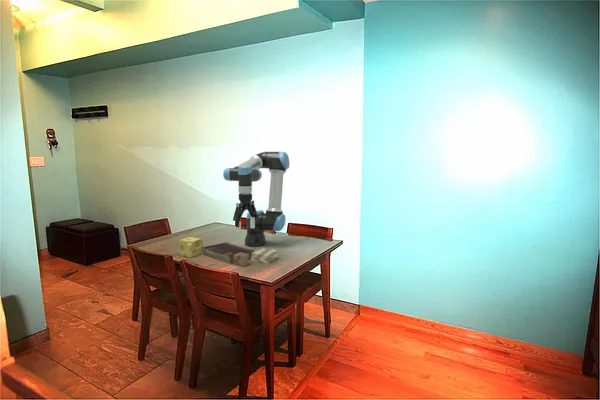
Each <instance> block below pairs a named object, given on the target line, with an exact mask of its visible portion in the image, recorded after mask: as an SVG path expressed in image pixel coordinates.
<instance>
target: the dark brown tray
mask: <svg viewBox="0 0 600 400" xmlns="http://www.w3.org/2000/svg"><path fill="white" fill-rule="evenodd" d="M254 251H255V250H253V249H250V248H247V247H243V246H241V245H237V244H234V243H230V242H222V243H216V244H212V245H208V246H203V247H202V255H204V256H206V257H209V258H212V259H215V260H218V261H221V262H224V263H226V264H229V265H234V255H235V254H238V253H241V252H242V253H247V254H249V260H251V253H252V252H254Z"/></svg>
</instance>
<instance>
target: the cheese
mask: <svg viewBox="0 0 600 400" xmlns="http://www.w3.org/2000/svg"><path fill="white" fill-rule="evenodd" d="M203 243H204V242H203V238H201V237H193V236H188V237H186V238H185V237H184V238H181V239H178V252H179V255H180V256H182V257H187V258H188V259H189V258H190V259H191V258H193V257H195V256H199V255H203V251H202V247H204V244H203Z"/></svg>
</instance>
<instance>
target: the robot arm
mask: <svg viewBox="0 0 600 400" xmlns="http://www.w3.org/2000/svg"><path fill="white" fill-rule="evenodd" d="M289 168H290V158H289V155H288V153H287V152H285V151H262V152H260V153H257V154H254V155H252V156H251V157H250V159H248V160H246V161H244V162H242V163H240V164H238V165H236V166H234V167H228V168H226V167H225V168H224V170H223V178H224V180H225V181H229V182H238V191H237V193H239V194H238V201H240V202H236V203H235V204H236V205H235V206H236V207H235V211H234V213H233V218H232V221H234V222H235V233H238V234H241V233H242V221H241V219H242V216H243V214H244V212H246V210H247V214H246V234H245V236H246V237H245V239H244V245H245V246H247V247H253V248H254V247H262V246H263V247H264V246H265V244H266V245H267V239H266V236H265V232H264V231H268V232H269V231H271V232H280V231H282V230H283V228H284V227H285V225H286V215H285V214H284V211H283V210H282V201H283V200H282V198H283V188H284V187H283V186H284V175H285V173H286V172H287V170H288V169H289ZM261 169H267V170H268V171H269V173H270V181H269V195H268V207H267V209H266V210H265V211H264V210H262V209H261V210H257V208H256V206H255V201H254V200H253V194H252V193H253V182H255V183H256V182H259V181H260V180H261V179H262V176H263V175H262V171H261Z"/></svg>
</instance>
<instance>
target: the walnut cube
mask: <svg viewBox="0 0 600 400" xmlns="http://www.w3.org/2000/svg"><path fill="white" fill-rule="evenodd" d="M233 265H234V266H238V267H241V268H242V267H245V266H247V265H250V259H249V254H247V253H242V252H241V253H238V254H235V255H234V264H233Z"/></svg>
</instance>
